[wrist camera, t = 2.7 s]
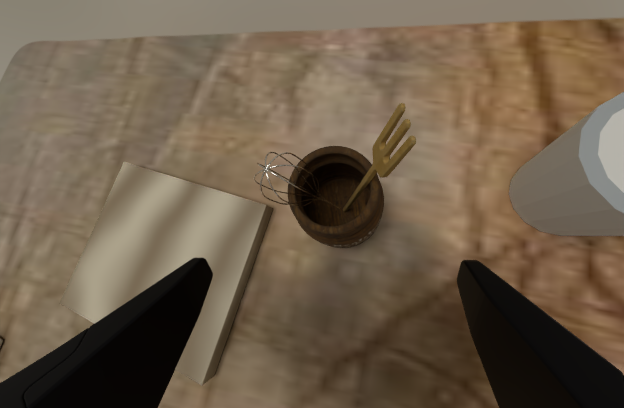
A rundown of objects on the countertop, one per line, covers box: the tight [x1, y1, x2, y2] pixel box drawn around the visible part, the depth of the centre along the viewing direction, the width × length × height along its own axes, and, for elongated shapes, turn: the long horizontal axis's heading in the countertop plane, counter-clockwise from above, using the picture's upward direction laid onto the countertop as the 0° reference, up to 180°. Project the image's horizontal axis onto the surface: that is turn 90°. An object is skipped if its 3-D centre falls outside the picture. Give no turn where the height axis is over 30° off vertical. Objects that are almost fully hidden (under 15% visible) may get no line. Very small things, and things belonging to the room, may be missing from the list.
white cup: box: [509, 92, 624, 236], centre depth 13 cm, size 7×7×7 cm
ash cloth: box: [60, 162, 273, 385], centre depth 21 cm, size 16×14×2 cm
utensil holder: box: [254, 103, 416, 248], centre depth 14 cm, size 6×6×12 cm
